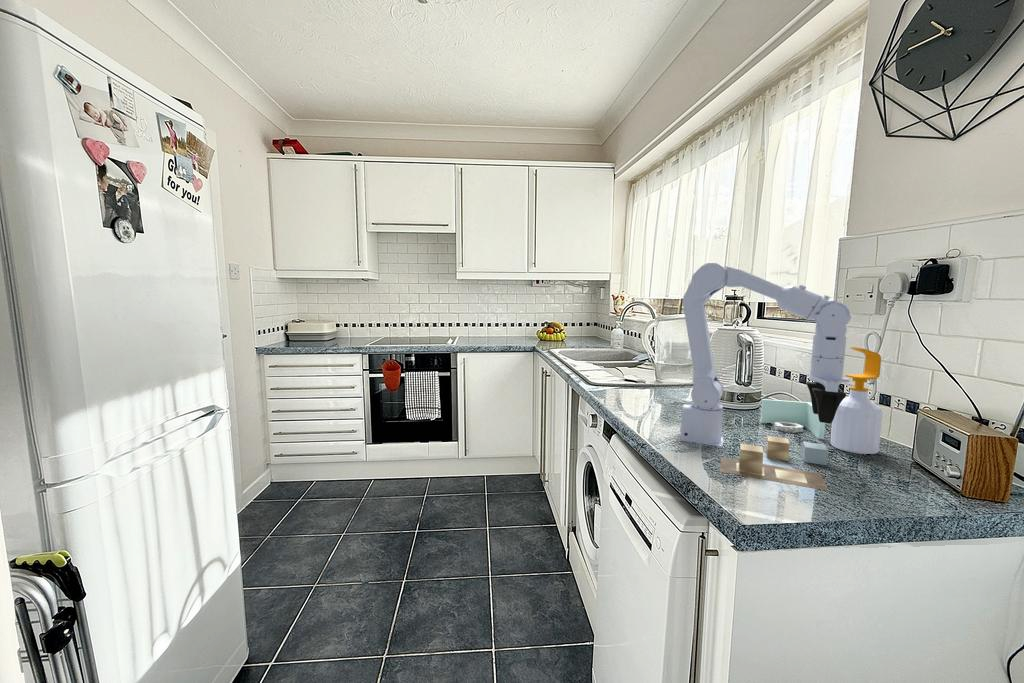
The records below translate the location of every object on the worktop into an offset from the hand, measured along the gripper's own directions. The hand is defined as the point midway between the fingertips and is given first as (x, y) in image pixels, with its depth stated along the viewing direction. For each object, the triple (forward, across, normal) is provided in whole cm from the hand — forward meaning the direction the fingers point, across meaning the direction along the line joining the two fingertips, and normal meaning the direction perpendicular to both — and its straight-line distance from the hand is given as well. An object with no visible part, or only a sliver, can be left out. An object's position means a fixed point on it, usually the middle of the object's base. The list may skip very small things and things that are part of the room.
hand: (822, 418), depth 93 cm
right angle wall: (+10, +24, +3) cm, 26 cm away
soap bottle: (+10, +14, -9) cm, 19 cm away
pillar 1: (+9, -15, +14) cm, 22 cm away
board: (+10, -15, +10) cm, 20 cm away
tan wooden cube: (+10, -3, +8) cm, 13 cm away
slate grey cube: (+10, -2, +1) cm, 10 cm away
